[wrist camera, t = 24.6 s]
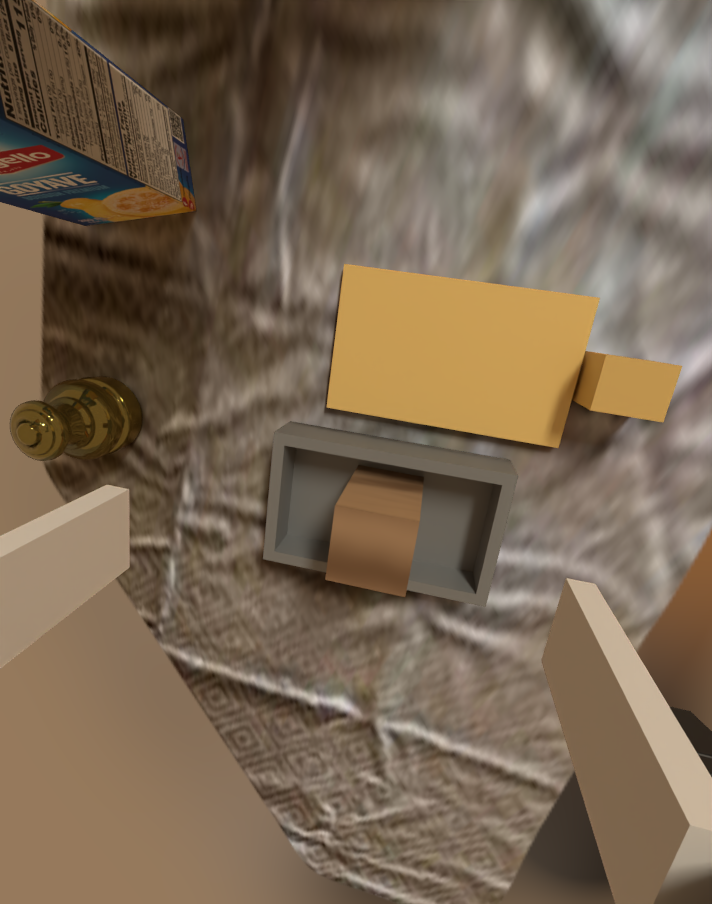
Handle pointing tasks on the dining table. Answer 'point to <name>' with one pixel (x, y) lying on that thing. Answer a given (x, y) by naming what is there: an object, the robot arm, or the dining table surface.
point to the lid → (480, 357)
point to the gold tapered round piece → (78, 420)
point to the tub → (442, 509)
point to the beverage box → (82, 129)
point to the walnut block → (375, 530)
